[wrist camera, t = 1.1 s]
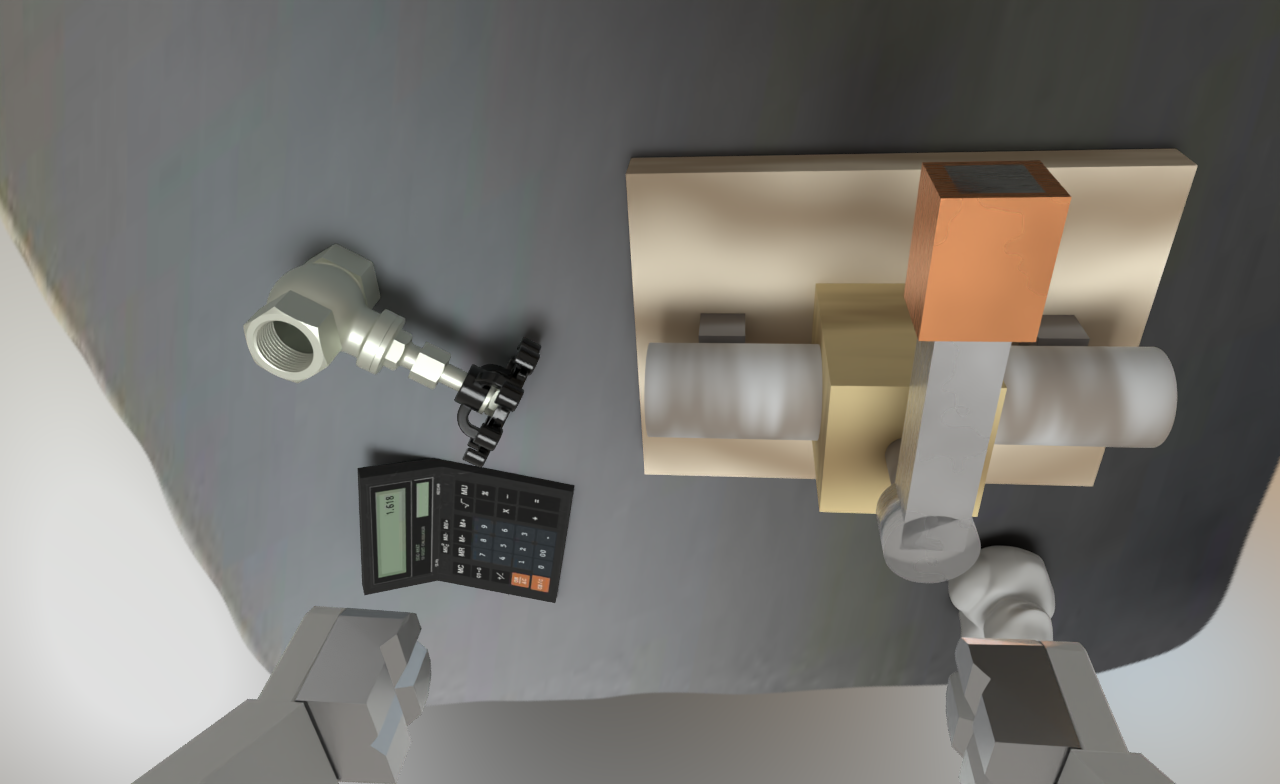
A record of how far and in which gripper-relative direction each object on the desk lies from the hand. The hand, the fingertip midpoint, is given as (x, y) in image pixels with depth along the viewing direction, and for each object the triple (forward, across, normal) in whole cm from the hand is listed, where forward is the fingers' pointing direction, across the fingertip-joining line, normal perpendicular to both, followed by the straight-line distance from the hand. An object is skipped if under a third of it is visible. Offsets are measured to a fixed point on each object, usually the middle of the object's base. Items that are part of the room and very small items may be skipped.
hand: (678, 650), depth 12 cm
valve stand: (+28, -7, +10) cm, 30 cm away
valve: (+28, +15, +10) cm, 33 cm away
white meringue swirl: (+28, -15, +26) cm, 41 cm away
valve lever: (+15, -7, +5) cm, 17 cm away
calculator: (+28, +15, +24) cm, 40 cm away
